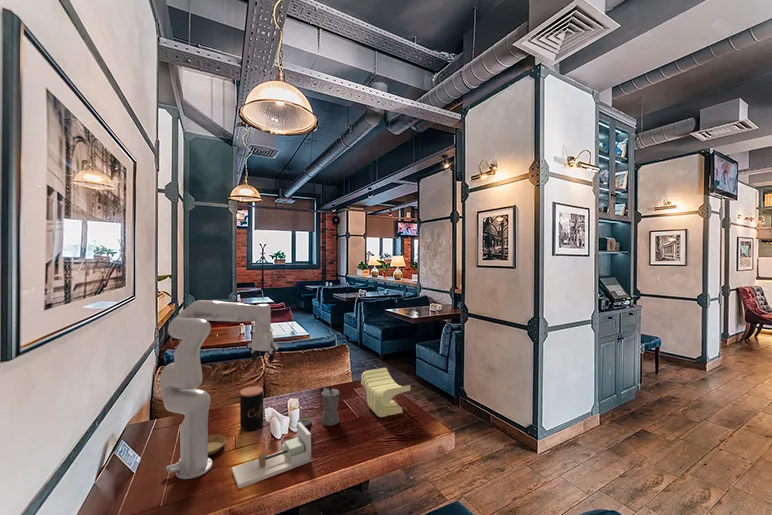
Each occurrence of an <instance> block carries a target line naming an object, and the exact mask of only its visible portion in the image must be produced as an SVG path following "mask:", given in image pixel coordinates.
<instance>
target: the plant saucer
mask: <svg viewBox="0 0 772 515" xmlns="http://www.w3.org/2000/svg"><path fill="white" fill-rule="evenodd" d="M226 442H227V438H226V437H225V436H223V435H221V434H219V435H218V434H213V435H208V456H210V455H213V454H215V453H217V452H218V451H220V450H221V449H222V448H223V446H225V444H226Z"/></svg>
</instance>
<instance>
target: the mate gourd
mask: <svg viewBox="0 0 772 515" xmlns="http://www.w3.org/2000/svg"><path fill="white" fill-rule="evenodd" d="M301 414H302V416H301V417H300V418H298V420H297V422H296V424H297V423H299V422H301V423H302V424H303V425H304V427H305V428H306V429H307V430H308V431H309V432H310V433H311V431H312V427H313V422H312V419H311V417H309V416H305V409H302V413H301Z"/></svg>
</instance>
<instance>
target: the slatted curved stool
mask: <svg viewBox="0 0 772 515" xmlns="http://www.w3.org/2000/svg"><path fill="white" fill-rule="evenodd" d="M360 379H361V380H360V383H361V385H363V387H364V389H365V391H366V401H367V406H368V407H369V408H370V410H372V412H374V413H375V415H376V416H377V417H378V418H383V417H388V415H389V416H392V415H398V414H403V412H404V411H403V408H402V406H400V405H399V404H398V403H397V402H396V401H394V399H393V398H394V397H395V396H397V395H398V394H402V393H405V392H410V391H411V384H409V385H403V386H402V385H399V384H398V383H397V382H396V381H395V380H394V379H393V378H392V376H391V374H390V372H389V370H388V368H387V367H382V368H375V369H374V368H373V369H368V370H367V369H366V370H365V371H363V372H362V374H361V377H360Z"/></svg>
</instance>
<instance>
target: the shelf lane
mask: <svg viewBox="0 0 772 515" xmlns="http://www.w3.org/2000/svg"><path fill="white" fill-rule="evenodd" d="M296 435H297V436H296V438H297V437H299V439H300V440H301V441H302V442H303V444H304V452H303V453H300V454H298V455H295V456H292V457H291V461H289V459H288V458H287V456H286V455H285V454H282V455H279V456H276V457H273V458H270V459H267V460H266V466H263V467H260V466H259V458H256V459H254V460H250V461H248V462H245V463H242V464H240V465H239V464H238V465H235V466H233V467H231V472H232V475H233V478H234V481H235V483H236V485H237V488H238V489H242V488H244V487H247V486H250V485H253V484H254V483H258V482H260V481H264V480H265V479H268V478H271V477H274V476H276V475H278V474H282V473H284V472H287V471H290V470H292V469H295V468H298V467H300V466H303V465H305V464H309V463H311V462H312V433H311V431H310V432H309V431H308V430H307V429H306V428H305V427H304V425H303V424H302V423H301V422H299V423H297V422H296ZM282 451H284V443H283V444H282V450H280V451H277V452H275V453H272V454H269V455H268V454H267V455H266V457H268V456H271V455H273V454H276V453H279V452H282Z"/></svg>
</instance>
